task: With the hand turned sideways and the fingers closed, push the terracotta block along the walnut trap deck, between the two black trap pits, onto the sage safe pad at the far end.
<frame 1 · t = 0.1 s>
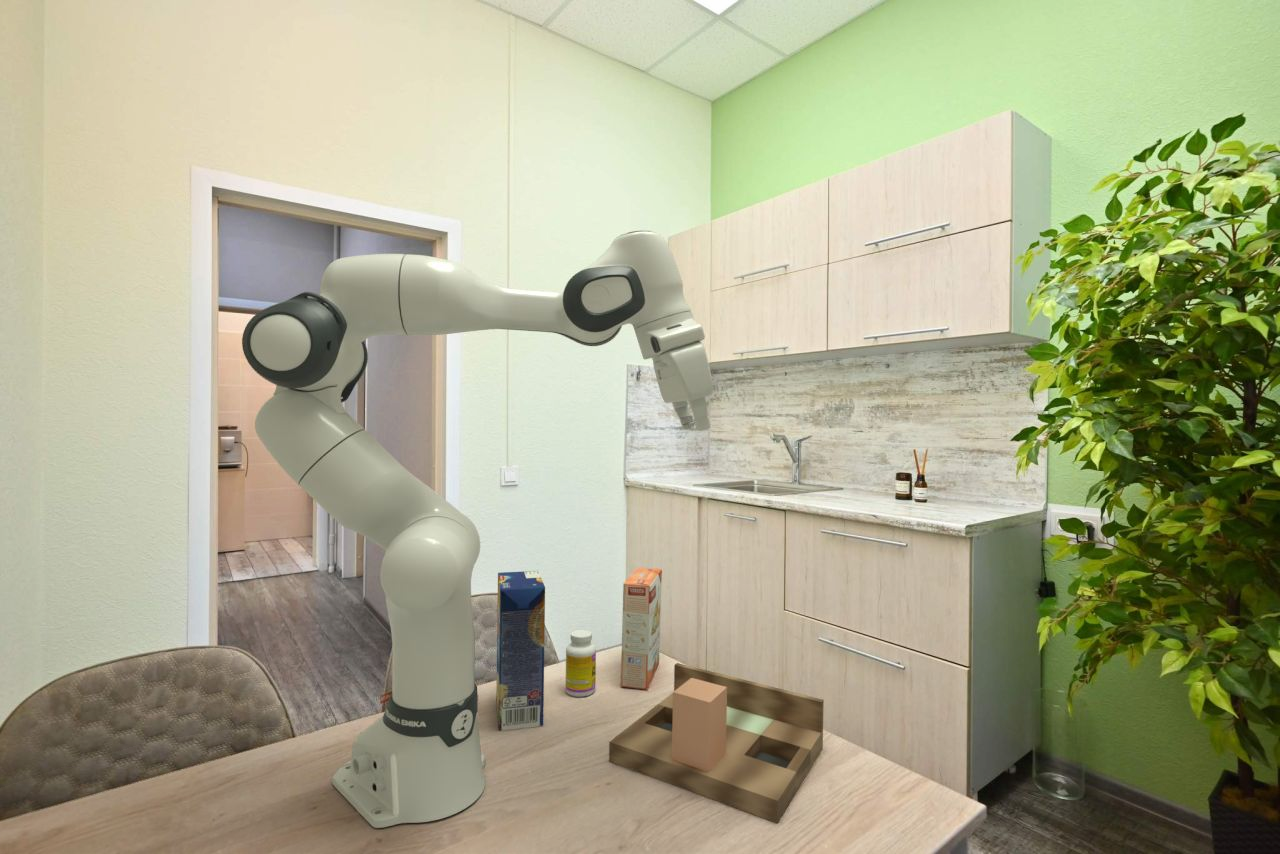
hand: (696, 428, 92), 52 cm above the table, tool tilted 20°, fingers open, 8 cm apart
terracotta block: (699, 756, 92), point 3 cm above the table, touching trap deck
cracker box: (641, 676, 127), on the table
supplement bottle: (580, 692, 120), on the table
trap deck: (718, 754, 98), on the table
juice carton: (518, 713, 111), on the table
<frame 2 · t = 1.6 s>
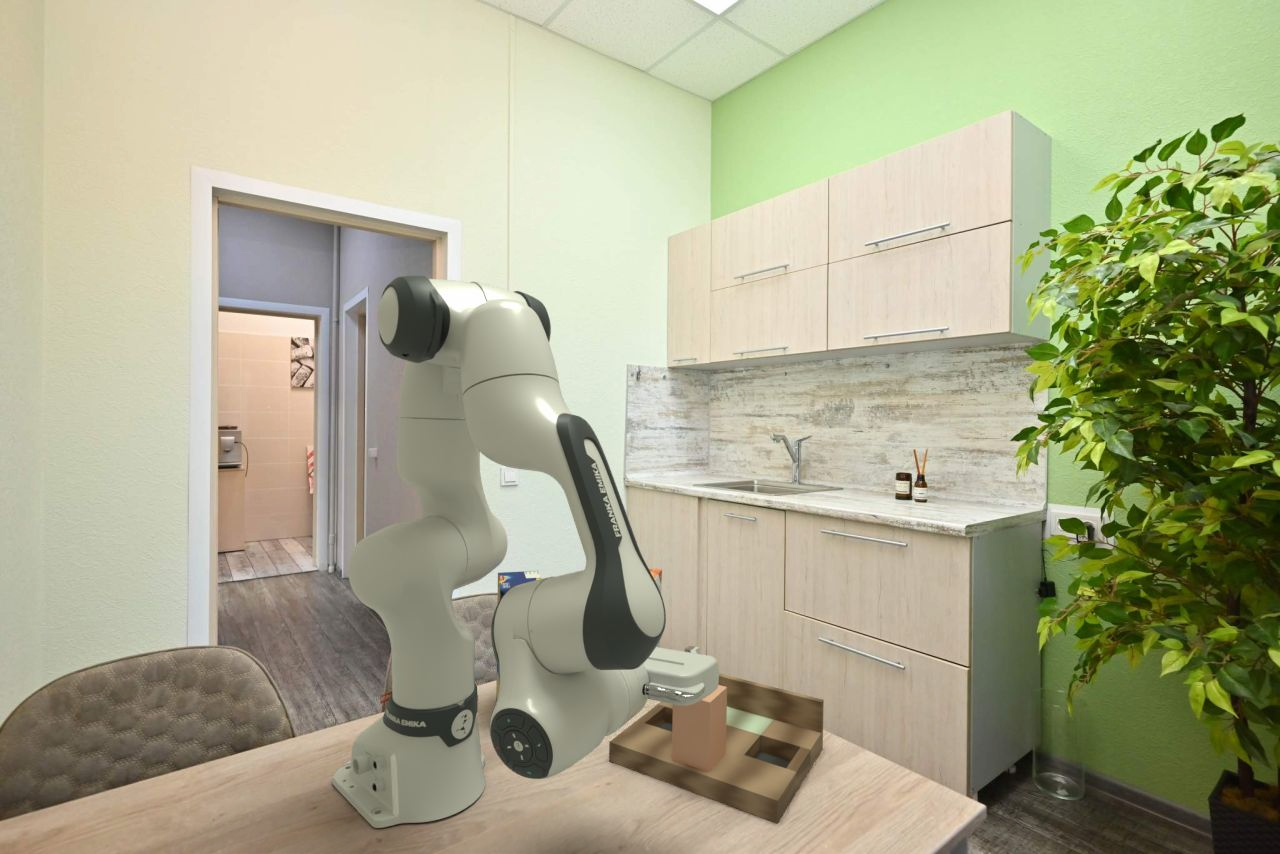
hand: (662, 647, 82), 23 cm above the table, tool horizontal, fingers open, 8 cm apart
nothing on the table moved.
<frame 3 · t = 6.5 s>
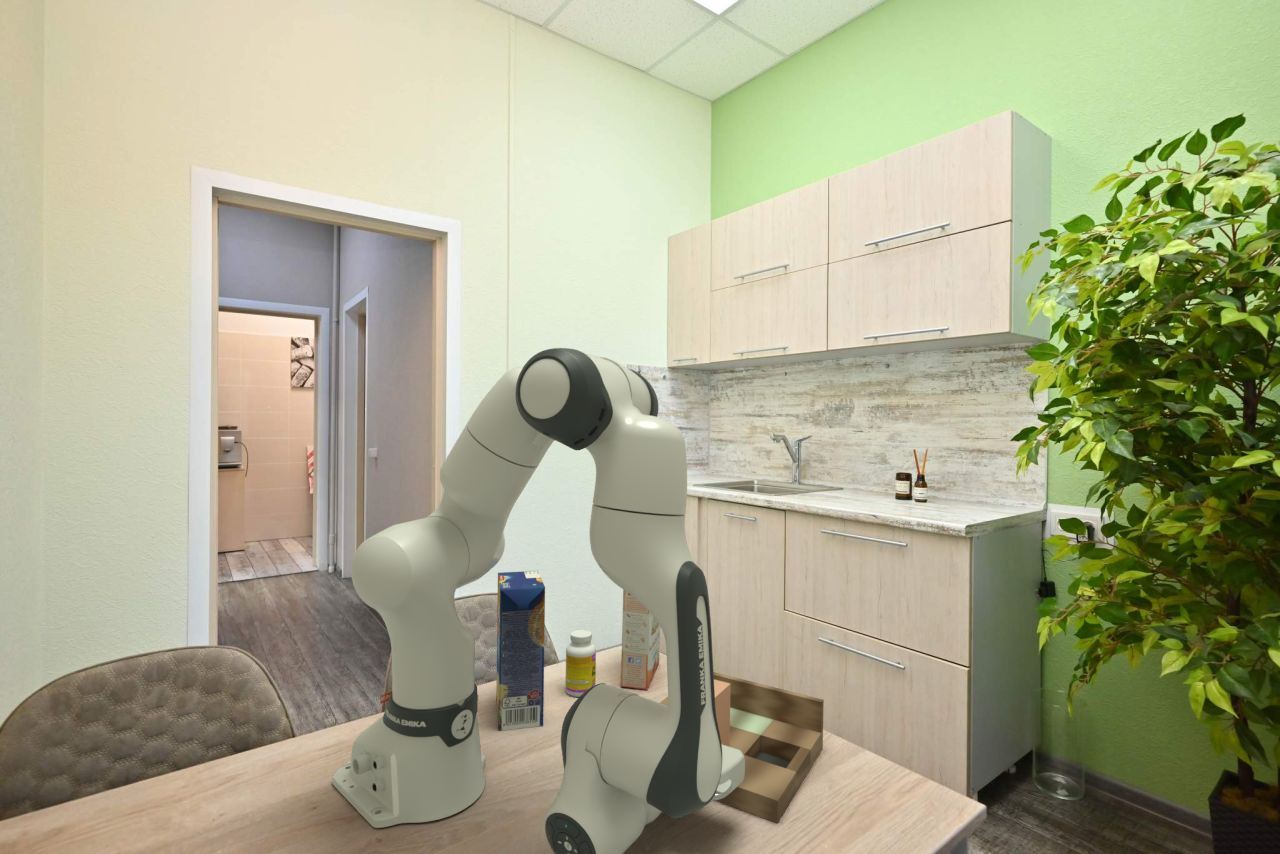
hand: (694, 728, 90), 8 cm above the table, tool horizontal, fingers closed, pressing on terracotta block
terracotta block: (703, 751, 93), point 3 cm above the table, touching gripper
everything else where it was.
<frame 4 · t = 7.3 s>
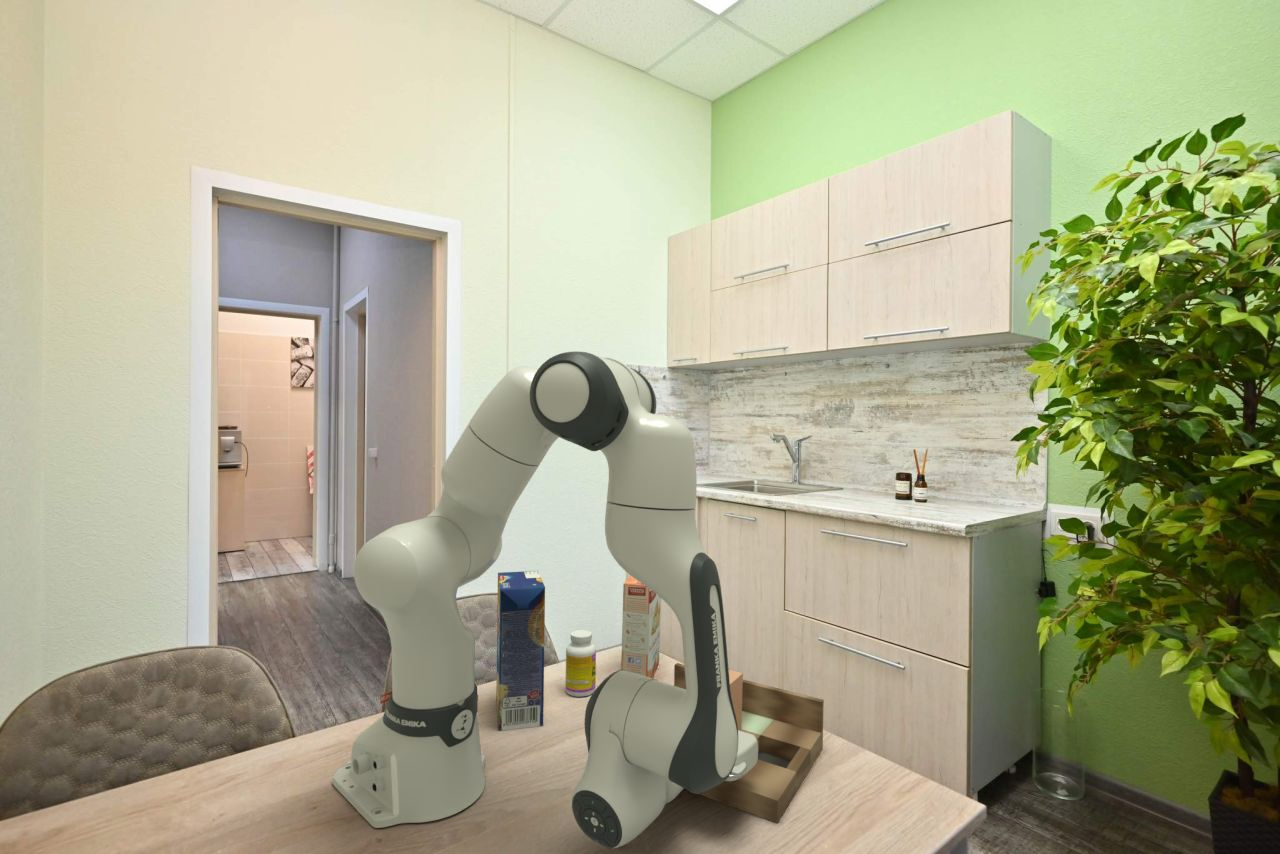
hand: (708, 715, 94), 8 cm above the table, tool horizontal, fingers closed, pressing on terracotta block
terracotta block: (716, 738, 97), point 3 cm above the table, touching gripper
everything else where it was.
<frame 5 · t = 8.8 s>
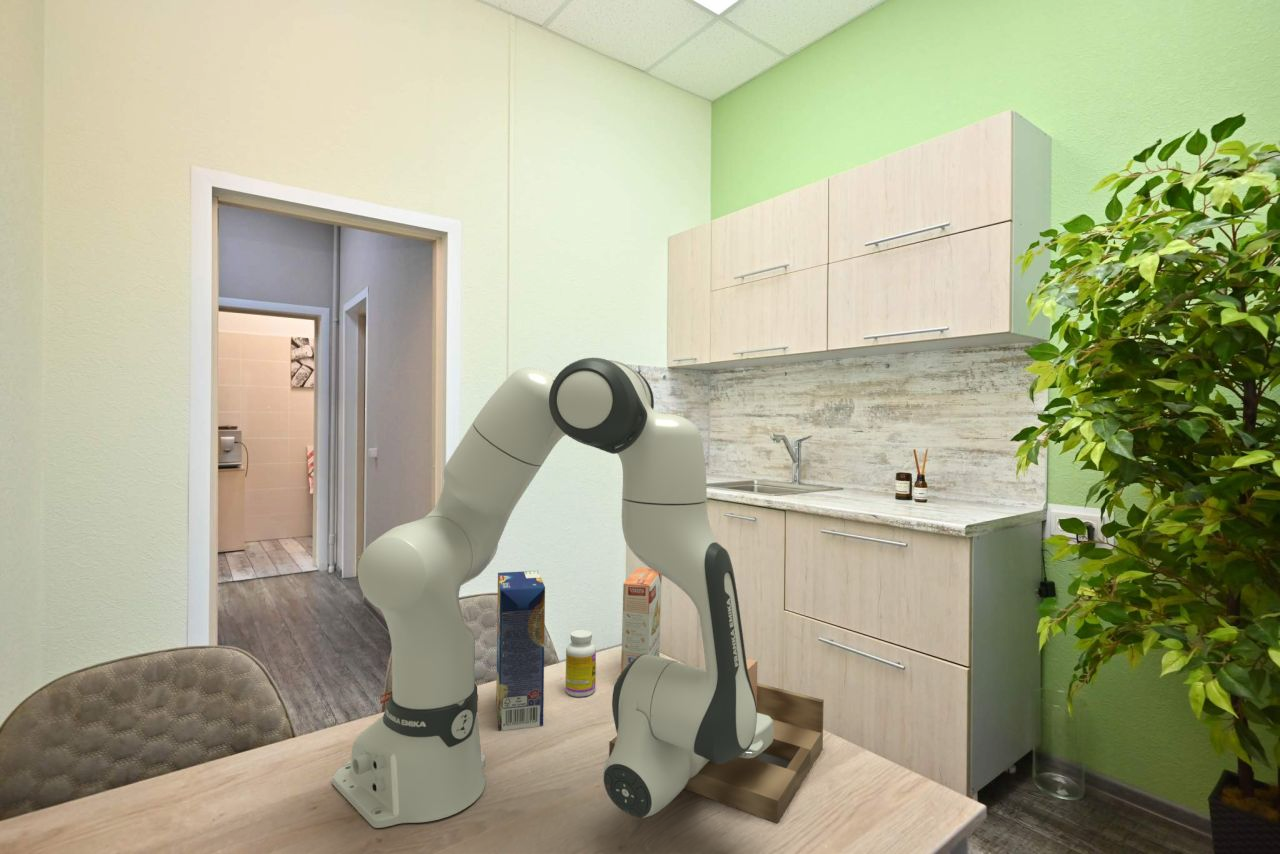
hand: (725, 699, 99), 8 cm above the table, tool horizontal, fingers closed
terracotta block: (732, 722, 102), point 3 cm above the table, touching trap deck
everything else where it was.
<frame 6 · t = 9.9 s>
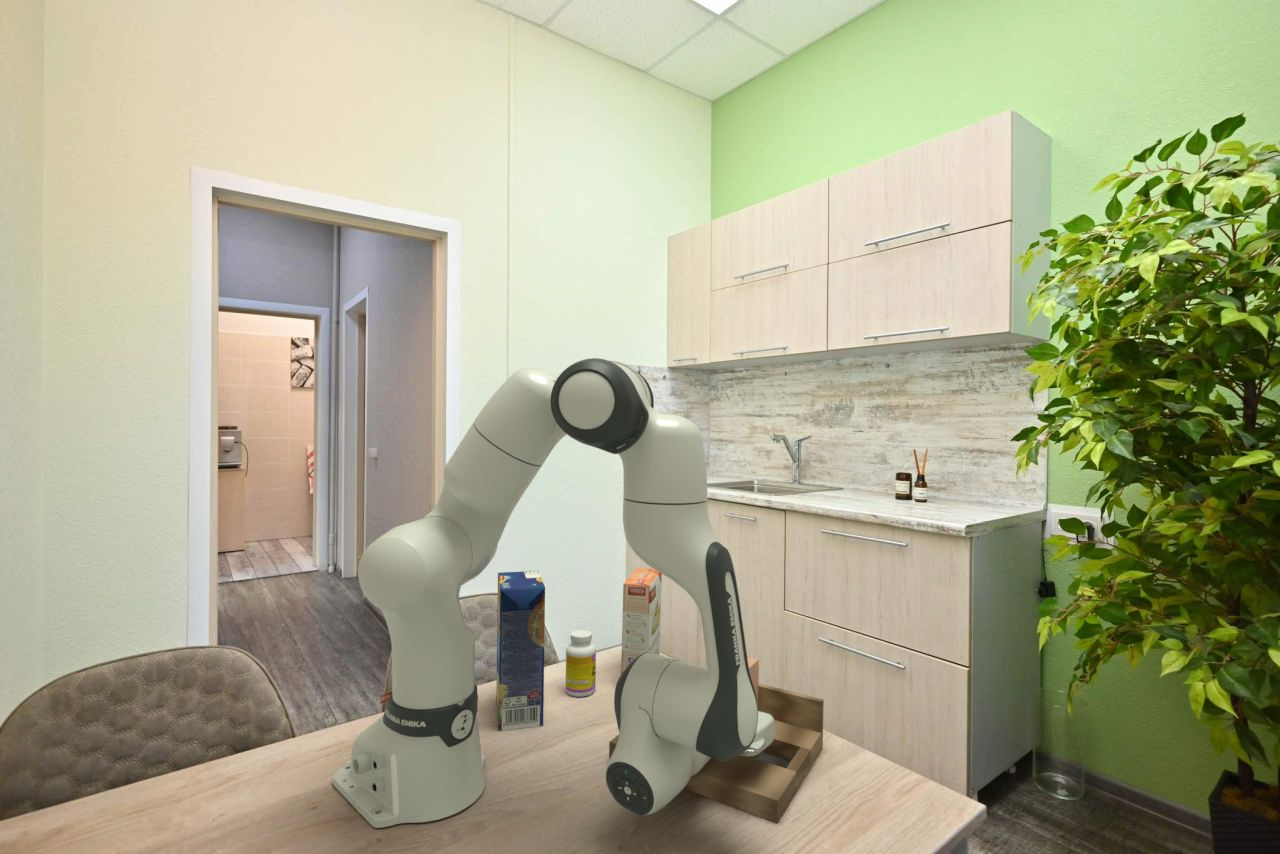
hand: (726, 697, 100), 8 cm above the table, tool horizontal, fingers closed
nothing on the table moved.
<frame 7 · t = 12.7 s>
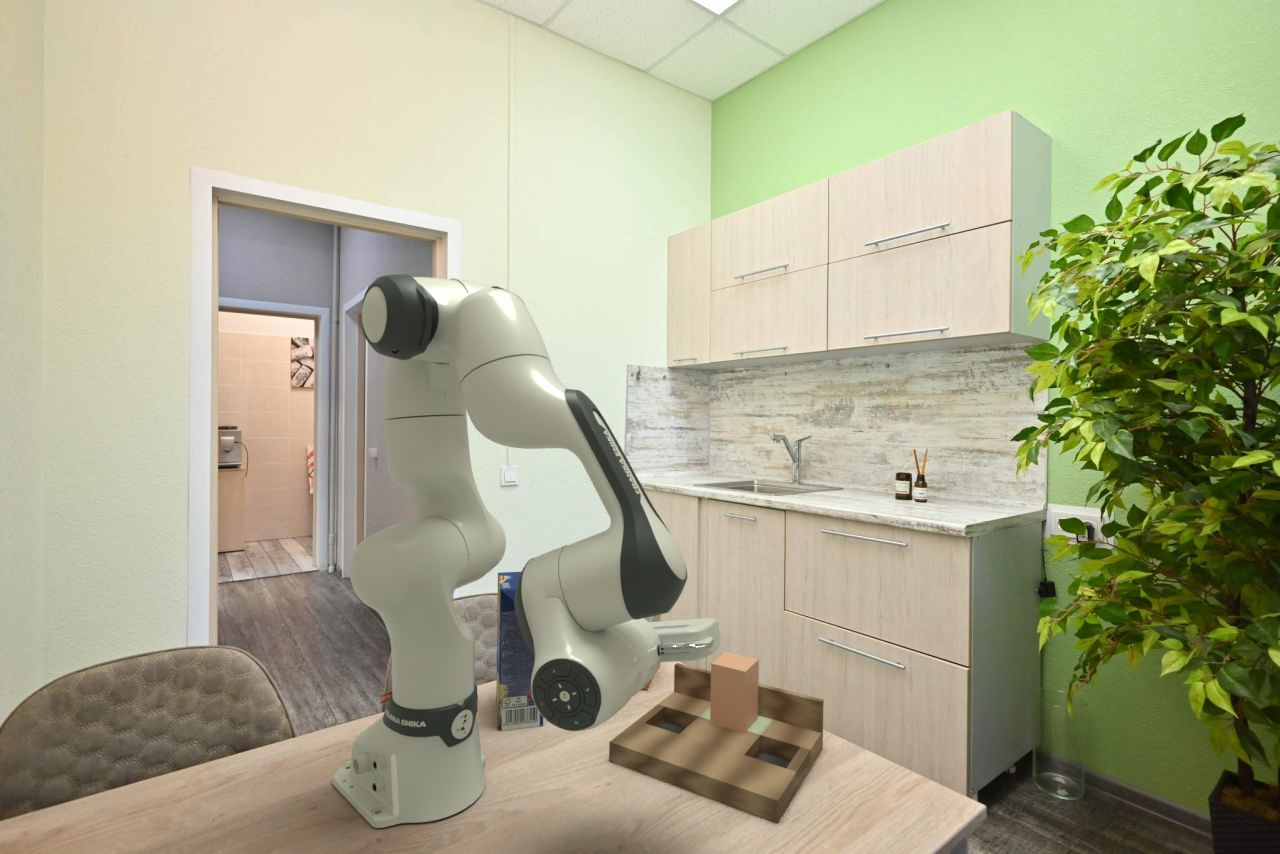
hand: (656, 627, 85), 24 cm above the table, tool horizontal, fingers closed
nothing on the table moved.
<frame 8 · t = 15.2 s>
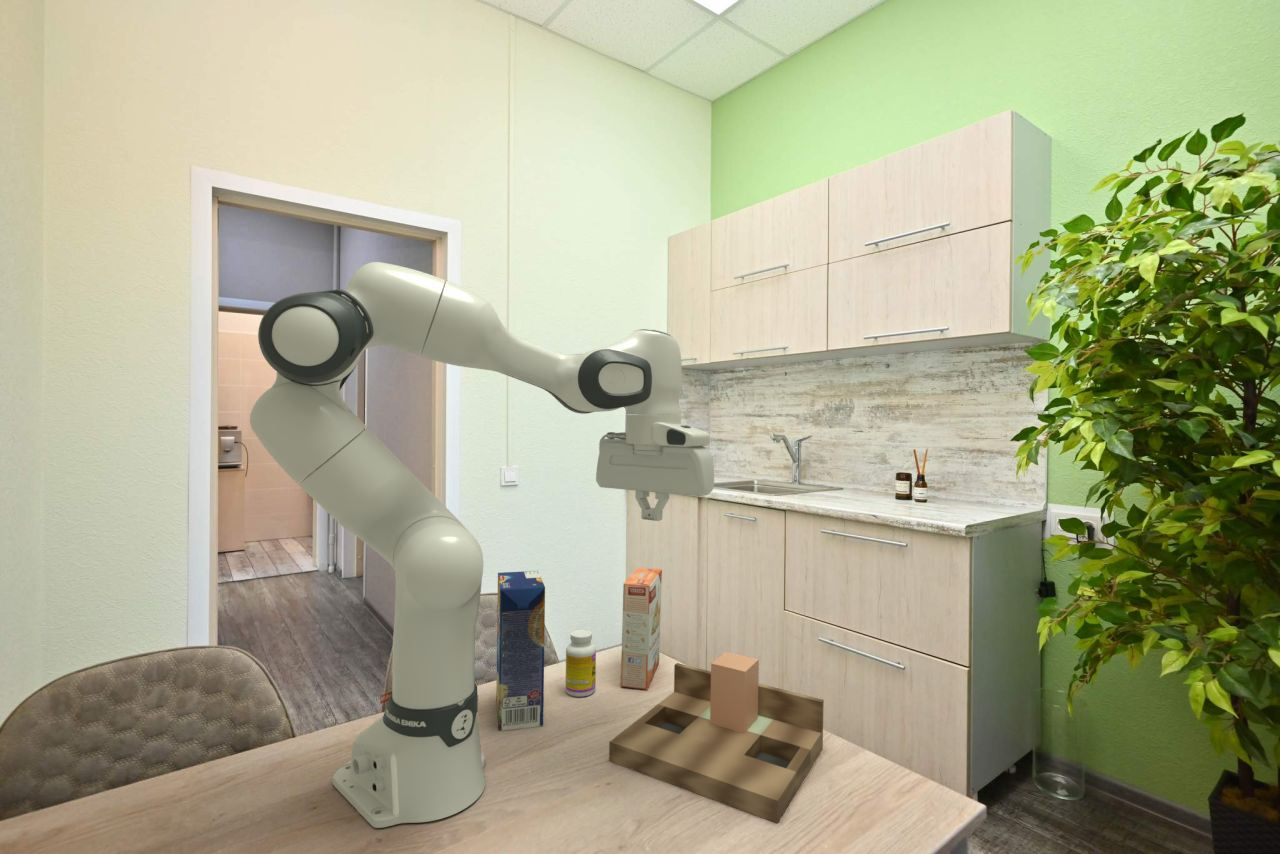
hand: (651, 519, 98), 37 cm above the table, tool pointing down, fingers closed
nothing on the table moved.
at the end: terracotta block inside the target area on the trap deck (1.4 cm from its centre), point 3.0 cm above the trap deck's base; terracotta block tilted 0° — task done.
